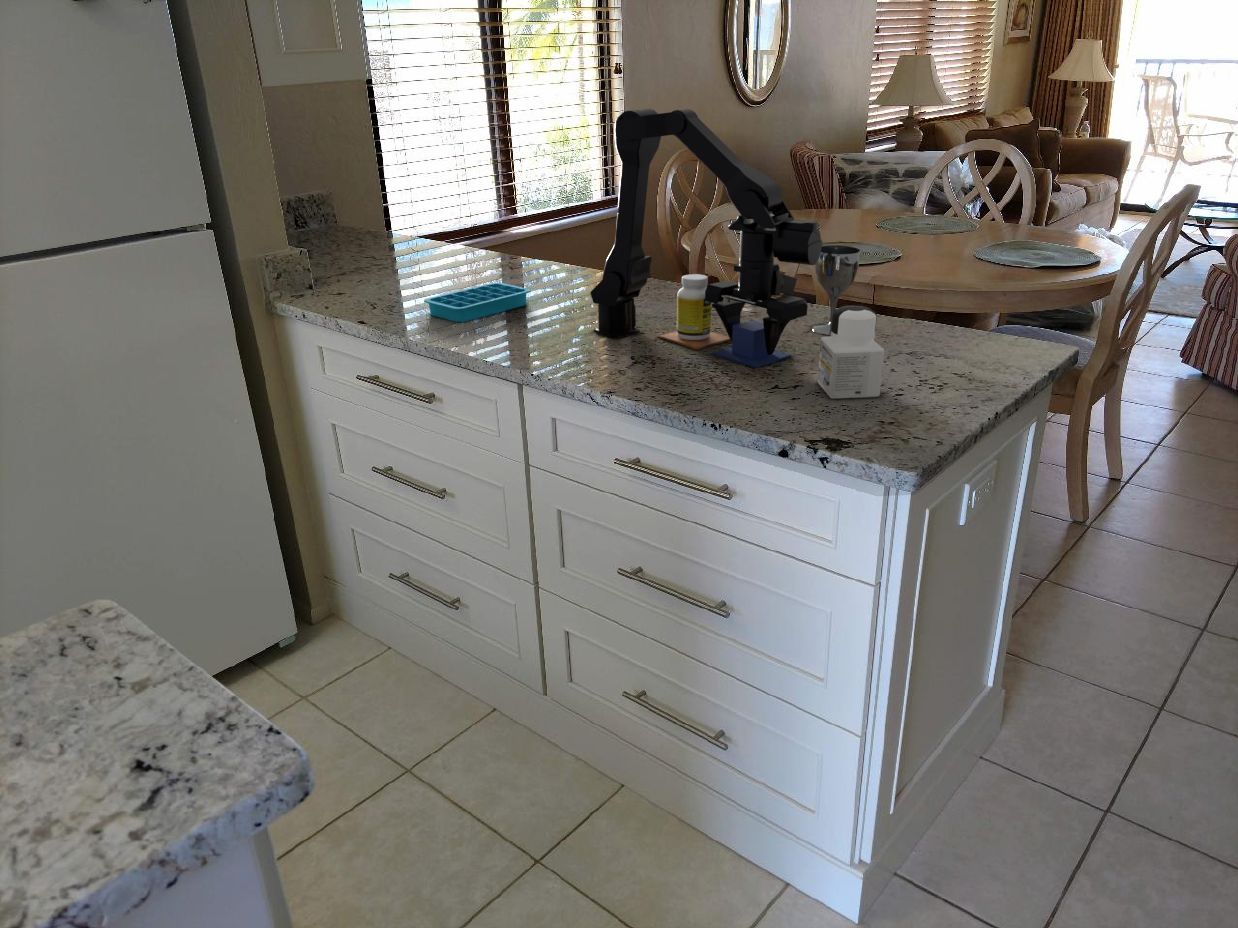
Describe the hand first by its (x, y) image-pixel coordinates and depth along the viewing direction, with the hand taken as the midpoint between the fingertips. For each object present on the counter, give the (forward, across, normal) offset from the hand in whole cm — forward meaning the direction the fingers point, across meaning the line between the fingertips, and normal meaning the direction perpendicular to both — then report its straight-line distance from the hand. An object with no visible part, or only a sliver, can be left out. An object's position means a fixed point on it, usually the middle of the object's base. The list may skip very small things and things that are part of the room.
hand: (752, 348), depth 166 cm
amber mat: (+1, +14, 0) cm, 14 cm away
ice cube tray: (+2, +59, +18) cm, 62 cm away
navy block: (+1, 0, 0) cm, 1 cm away
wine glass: (+2, +1, -23) cm, 23 cm away
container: (+2, -22, +2) cm, 22 cm away
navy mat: (+1, 0, 0) cm, 1 cm away
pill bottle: (+1, +14, 0) cm, 14 cm away
